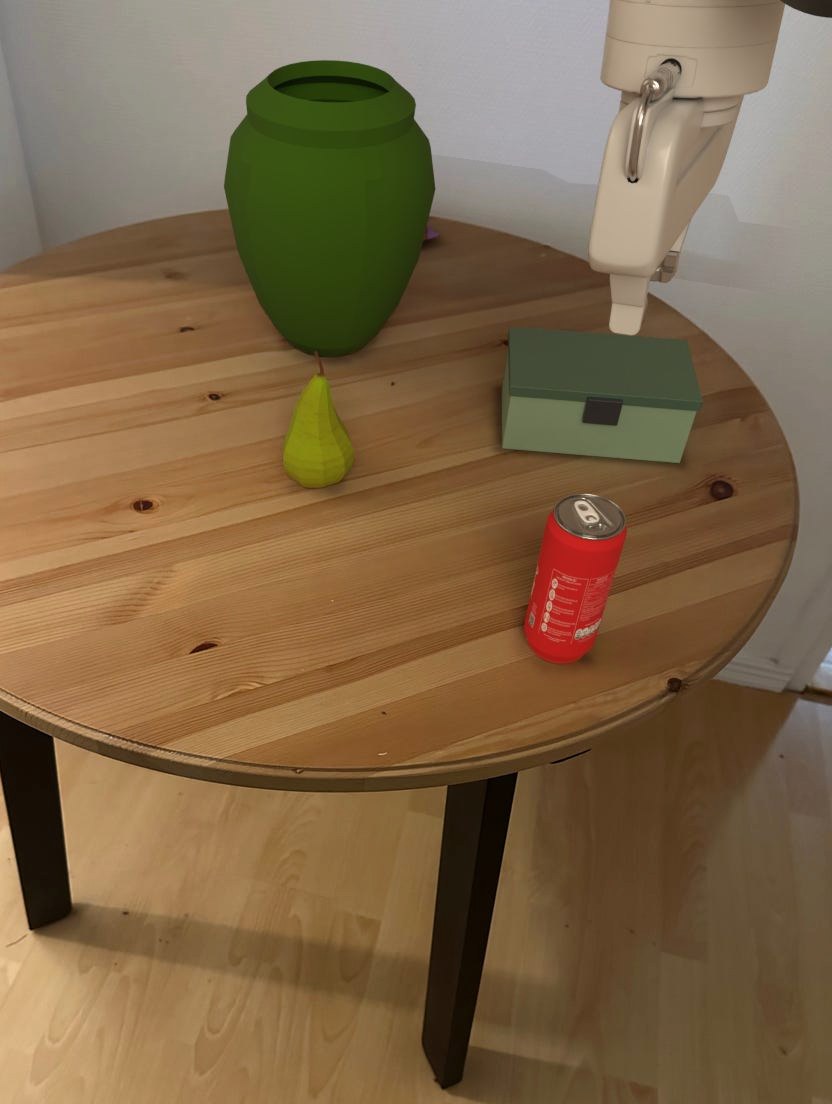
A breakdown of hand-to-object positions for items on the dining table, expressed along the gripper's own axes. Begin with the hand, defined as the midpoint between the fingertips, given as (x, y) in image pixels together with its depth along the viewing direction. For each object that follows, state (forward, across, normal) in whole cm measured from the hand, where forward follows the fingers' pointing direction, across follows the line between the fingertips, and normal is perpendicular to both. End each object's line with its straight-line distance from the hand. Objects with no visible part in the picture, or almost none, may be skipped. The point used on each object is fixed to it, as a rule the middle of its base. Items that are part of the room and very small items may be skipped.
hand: (643, 303), depth 61 cm
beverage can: (+24, -6, +1) cm, 24 cm away
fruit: (+21, +4, +26) cm, 33 cm away
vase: (+18, +25, +35) cm, 47 cm away
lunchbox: (+20, +23, +7) cm, 32 cm away
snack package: (+15, +52, +40) cm, 67 cm away
